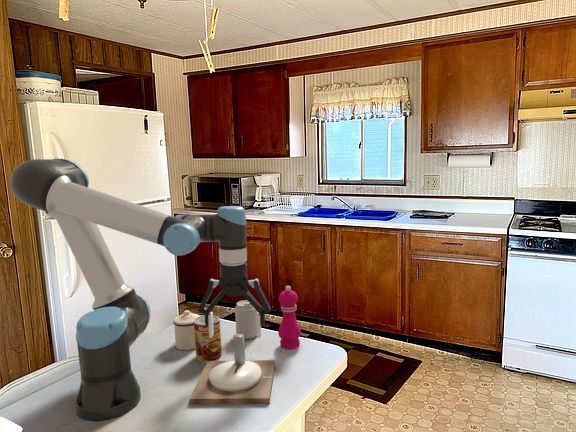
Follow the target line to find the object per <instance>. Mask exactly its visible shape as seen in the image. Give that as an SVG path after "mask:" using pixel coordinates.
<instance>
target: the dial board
mask: <svg viewBox="0 0 576 432" xmlns="http://www.w3.org/2000/svg"><path fill="white" fill-rule="evenodd" d="M228 361H229V360H216V361H207V362H205V363H206V364H205V365H204V367H203V370H202V372H201V374H200V376H199V378H198V380H197V382H196V385H195V387H194V389H193V391H192V393H191V395H190V397H189V405H192V406H193V405H270V402H271V397H272V388H273V384H274V383H273V382H274V376H275V375H274V374H275V368H276V360H275V359H268V360H267V359H265V360H261V359H260V360H256V359H255V360H254V359H252V360H251V359H250V360H249V359H248V360H246V359H245V361H251V362H254V363H256V364H257V365H259V366H260V368H261V379H260V381H259V382H258V383H257V384H256V385H254V386H253V387H251V388H248V389H245V390H241V391H234V392H228V391H221V390H218V389H216V388H214V387H213V386H212V385H211V384H210V378H209V374H210V372H211V370H212V369H213V368H214V367H216V366H218V365H220V364H222V363H225V362H228Z"/></svg>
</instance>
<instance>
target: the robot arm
mask: <svg viewBox="0 0 576 432" xmlns="http://www.w3.org/2000/svg"><path fill="white" fill-rule="evenodd" d="M9 184H10V185H9V186H10V188H11V191H12V195H14V197H15V198H16V199H17V200H18V201H20V202H21V203H22V204H25V206H28V207H31V208H34V209H37V210H40V211H44V212H45V214H46V216H47V217H50V218H52V219H55V220H56V222H57V224H58V226H59V228H60V230H61V232H62V234H63V236H64V239H65V240H66V242H67V244H68V246H69V248H70V251H71V253H72V256H73V257H74V259H75V260H76V263H77V265H78V266H79V269H80V271H81V274H82V275H83V277H84V279H85V282H86V284H87V285H88V287H89V289H90V291H91V293H92V296H93V298H94V301H93V303H92V306H91V307H92V309H93V310H92V311H89V312H87V313H84V315H82V316H81V317H80V318H79V319H78V321H77V323H76V327H75V328H76V330H75V331H76V333H75V339H76V340H75V341H76V344H77V345H76V346H77V353H78V354H77V355H78V362H79V371H80V384H79V388H78V393H77V395H76V399H75V400H76V401H75V410H76V414H77V415H78V416H77V417H80V418H81V419H83V420H85V421H104V420H109V419H112V418H116V417H119V416H121V415H124V414H126V413H127V412H129V411H131V410H132V409H133V408H135V407H136V406H137V404H138V403H140V400H141V398H142V397H141V396H142V394H141V387H140V385H139V383H138V380H137V378H136V376H135V374H134V371H133V370H132V365H131V364H132V363H131V354H130V353H131V351H130V347H131V346H132V345H133V344H134V343H135V342H136V340H137V339H138V338H139V337H140V336H141V335H142V334H143V333H144V332H145V330H146V329H147V327H148V325H149V323H150V320H151V308H150V304H149V303H148V301H147V300H146V298H144V297H143V296H141V295H139V294H137V292H136V290H135V288H134V286H132V285H129V284H126V283H125V280H124V279H123V276H122V274H121V272H120V270H119V268H118V265H117V264H116V262H115V260H114V257H113V256H112V253H111V252H110V249H109V247H108V245H107V243H106V241H105V239H104V237H103V235H102V233H101V231H100V228H99V225H100V226H102V227H104V228H108V229H111V230H114V231H118V232H120V233H122V234H123V233H124V234H126V235H129V236H132V237H135V238H138V239H141V240H144V241H147V242H151V243H153V244H156V245H159V246H161V247H162V246H163V247H164V248H165V249H166V251H167V252H168V253H170V254H172V255H173V256H177V257H178V256H186V255H187V254H190V253H192V252H193V251H195V250H196V248H197V247H198V246H199V245H200V244H202V243H211V242H212V243H216V242H217V243H218V254H219V255H218V256H219V257H218V261H219V263H220V264H219V279H214V278H212V277H211V278H210V279H209V281H208V283H207V284H208V285H207V290H206V292H205V294H204V296H203V298H202V300H201V303H200V304H199V306H198V308H197V313H199V314H200V313H201V314H204V315H205V325H209V338H212V336H213V334H214V325H213V315H214V312H213V311H212V310H213V309H214V308H215V306H217V304H218V303H219V302H220V301H221V300H222V299H223V298H224V296H227V297H233V296H234V297H240V296H242V297H243V298H244V299H245V300H248V301H249V303H250V304H251V305H252V306H253V307H254V308H255V309H256V310H257V333H258V334H257V339H261V337H262V326H264V325H265V324H266V323H265V322H266V318H265V317H266V314H270V313H271V311H272V307H271V304H270V303H269V301H268V299H267V297H266V295H265V293H264V292H263V289H262V288H261V286H260V280H259V278H257V277H256V278H255V279H250V280H249V278H248V263H247V261H248V249H247V248H248V247H247V217H246V216H247V215H246V209H245V208H244V207H242V206H241V205H240V206H239V205H229V206H227V205H223V206H219V207H218V208H217V213H215V214H194V213H193V214H190V213H186V214H177V215H175V216H172V215H169V214H167V213H163V212H160V211H158V210H155V209H152V208H149V207H145V206H144V205H140V204H138V203H134V202H131V201H128V200H126V199H123V198H121V197H120V198H119V197H117V196H114V195H110V194H107V193H106V192H103V191H102V192H101V191H99V190H96V189H93V188H90V187H89V185H90V180H89V176H88V173H87V172H86V170H85V169H84V168H83V166H81V165H80V164H78V163H77V162H76V161H72V160H69V159H65V158H50V159H49V158H48V159H47V158H45V159H41V158H37V159H35V158H34V159H29V160H25V161H23V162H22V163H20V164H19V165H17V166H16V167H15V168H14V170H13V171H12V173H11V176H10V181H9ZM217 286H218V287H219V288H220V289H221V291H219V293H218V294H217V296H215V298H214V299H213V300H212V301H211V303H210V304H209V305H208V306H207V307H206V305H207V302H208V301H209V298H210V296H211V295H212V293H213V291H214V289H215V288H216V287H217ZM249 286H251V288H253V289H254V291H255V294H256V295H257V297H258V299H259V301H260V302H261V303H260V302H259V301H258V300H257V299H256V298H255V296H254V295H253V294H252V293H251V292H250V290H249V289H248V287H249ZM204 315H203V316H204Z"/></svg>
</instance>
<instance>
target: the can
mask: <svg viewBox="0 0 576 432" xmlns="http://www.w3.org/2000/svg"><path fill="white" fill-rule="evenodd" d="M234 313H235V314H234V316H235V334H243V335H244V340H252V339H255V338H256V337H257V336H258V333H257V315H258V312H257V310H256V309H255V308H254V307H253V306H252V305H251V304H250V303H249V301H248V300H247V299H245V300H244V299H243V300H239V301H238V302H236V306H235V307H234Z"/></svg>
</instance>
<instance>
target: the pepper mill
mask: <svg viewBox="0 0 576 432" xmlns="http://www.w3.org/2000/svg"><path fill="white" fill-rule="evenodd" d="M278 299H279V300H278V301H279V303H280V311H282V318H281V319H282V320H281V323H280V325H279V328H278V337H279V338H280V340H279V342H280V348H282V349H283V350H294V349H295V350H296V349H297V348H299V347H300V344H301V343H300V339H299V338H300V336H301V334H302V333H301V332H302V331H301V327H300V325H299V323H298V321H297V317H296V311H297V309H298V308H297V303H298V300H299V298H298V294H297V293H296V291H294V290H292V287H291V286H290V285H286V286H285V290H283V291H281V292H280V294H279V297H278Z"/></svg>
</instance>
